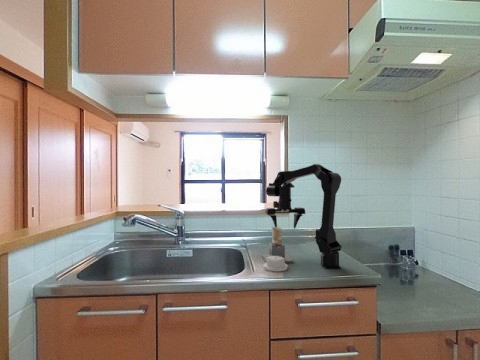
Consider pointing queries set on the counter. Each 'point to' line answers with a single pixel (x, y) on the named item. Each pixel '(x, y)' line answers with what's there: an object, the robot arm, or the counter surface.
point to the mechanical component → (275, 264)
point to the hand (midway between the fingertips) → (285, 228)
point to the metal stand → (277, 253)
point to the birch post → (276, 236)
